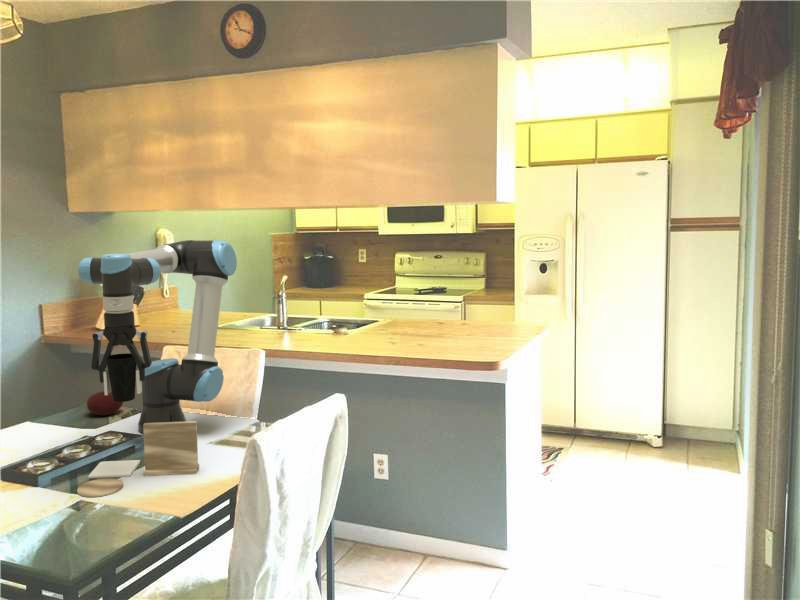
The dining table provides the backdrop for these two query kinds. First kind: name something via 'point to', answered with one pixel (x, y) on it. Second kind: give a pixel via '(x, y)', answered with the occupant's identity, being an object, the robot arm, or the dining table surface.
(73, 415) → the dining table surface
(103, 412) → the potato
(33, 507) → the dining table surface
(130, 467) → the stone coaster
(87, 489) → the cork coaster
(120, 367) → the cup
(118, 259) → the robot arm
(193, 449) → the screen
